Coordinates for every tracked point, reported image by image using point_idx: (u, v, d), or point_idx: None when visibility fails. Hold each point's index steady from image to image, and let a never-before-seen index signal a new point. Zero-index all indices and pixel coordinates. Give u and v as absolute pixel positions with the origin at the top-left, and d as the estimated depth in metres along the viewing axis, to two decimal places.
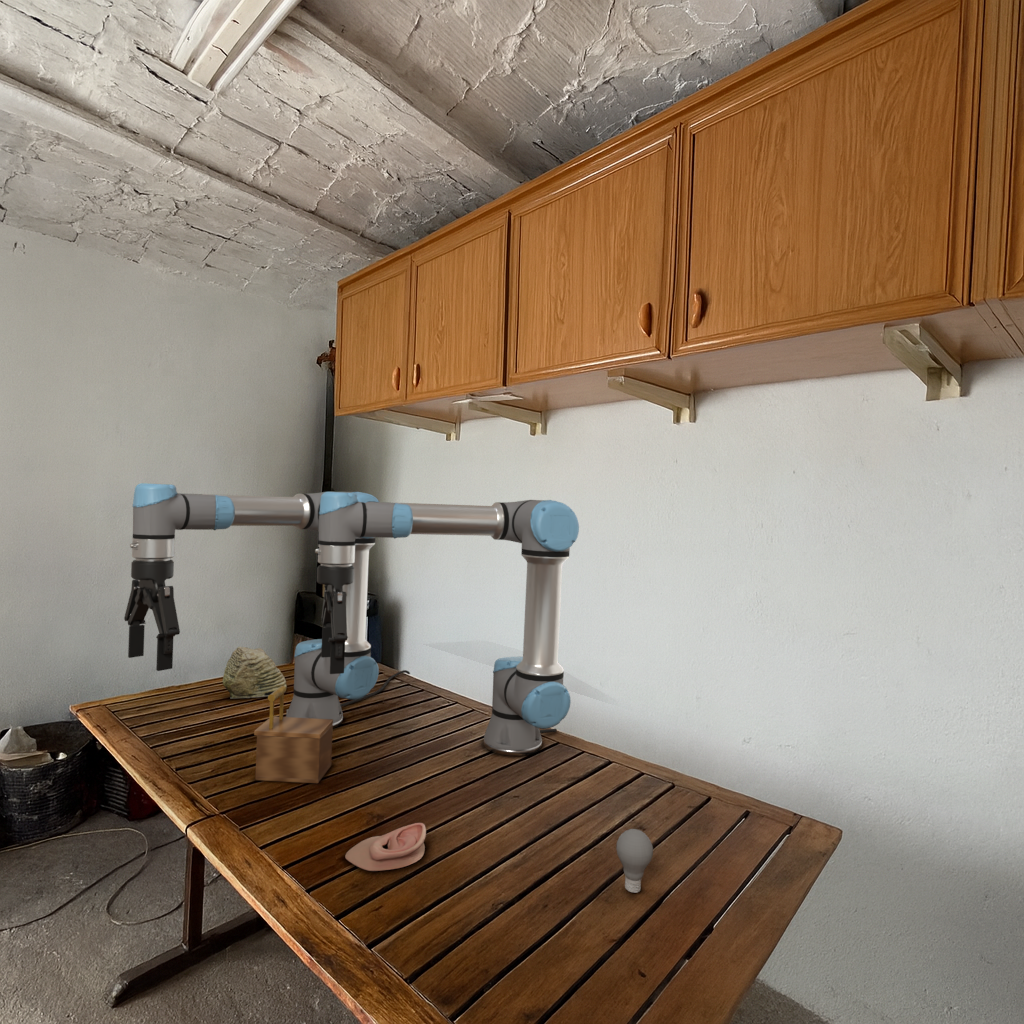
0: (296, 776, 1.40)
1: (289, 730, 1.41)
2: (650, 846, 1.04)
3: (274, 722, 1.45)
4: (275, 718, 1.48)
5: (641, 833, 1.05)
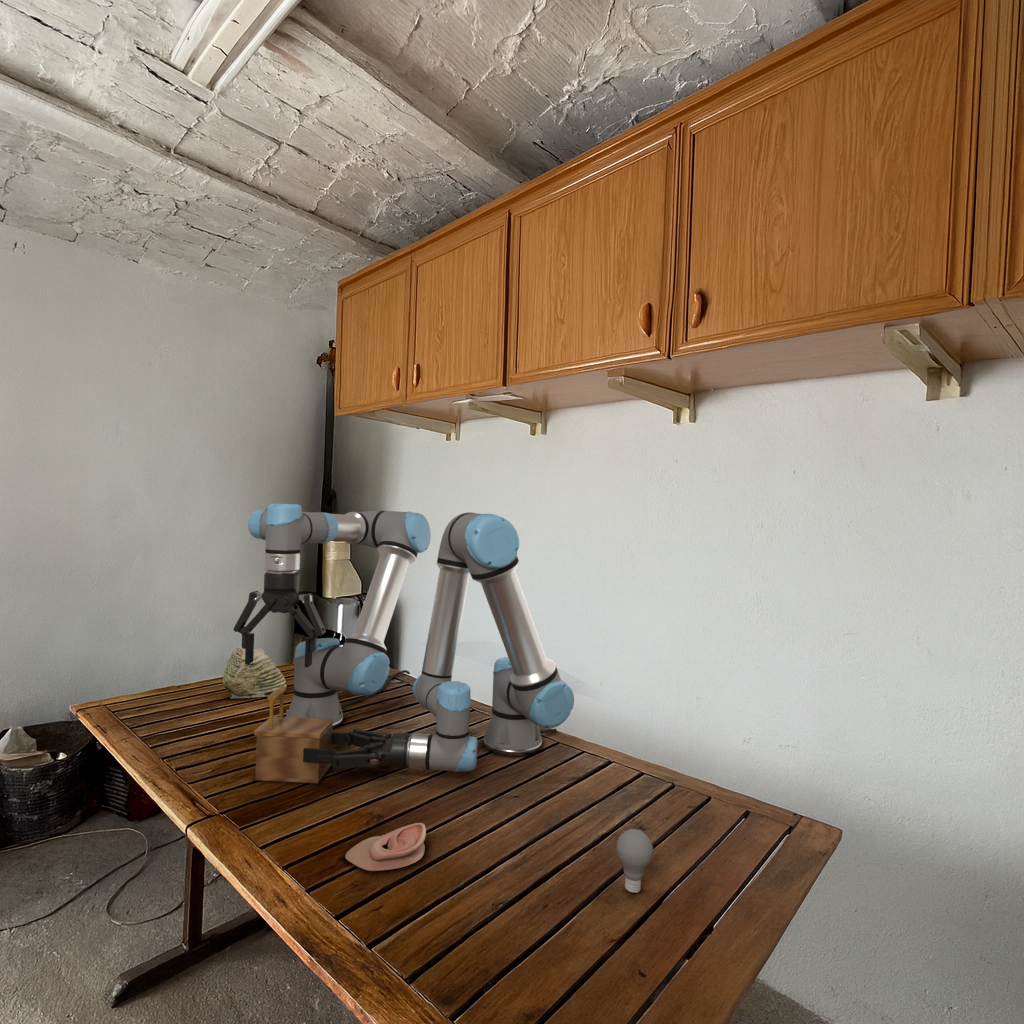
0: (296, 776, 1.40)
1: (288, 730, 1.41)
2: (650, 846, 1.04)
3: (274, 722, 1.45)
4: (275, 718, 1.48)
5: (641, 833, 1.05)
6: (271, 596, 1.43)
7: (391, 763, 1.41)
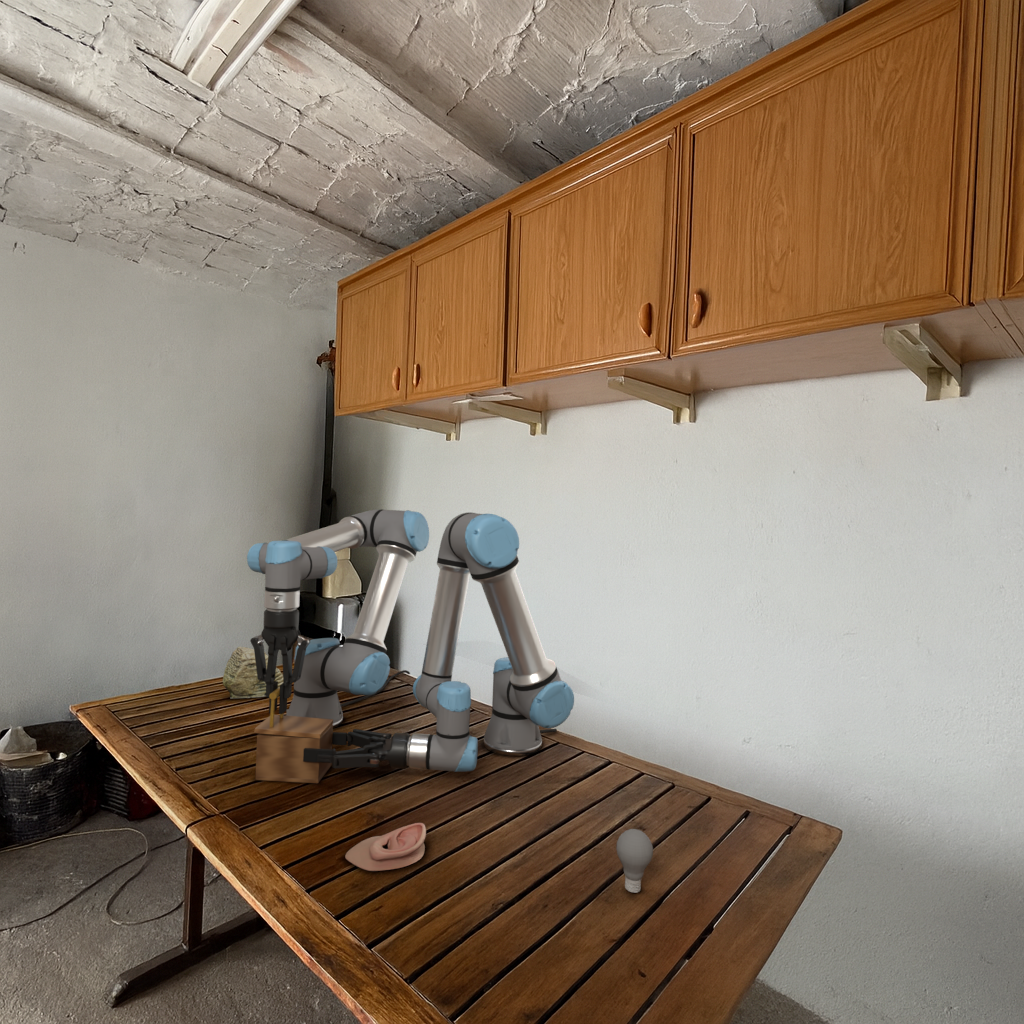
0: (296, 776, 1.40)
1: (289, 729, 1.41)
2: (650, 846, 1.04)
3: (274, 720, 1.45)
4: (276, 716, 1.48)
5: (641, 833, 1.05)
6: (271, 634, 1.43)
7: (391, 763, 1.41)
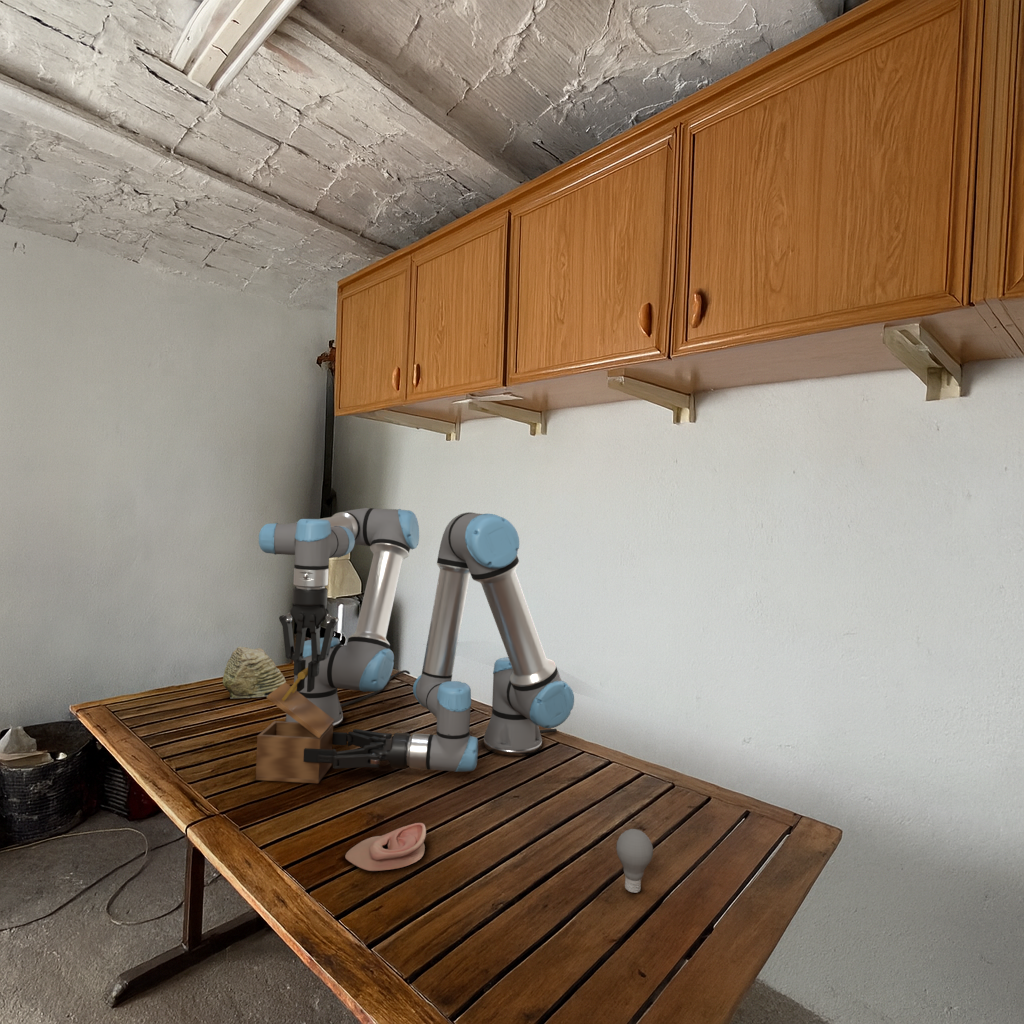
0: (296, 776, 1.40)
1: (297, 712, 1.41)
2: (650, 846, 1.04)
3: (286, 692, 1.45)
4: (288, 687, 1.48)
5: (641, 833, 1.05)
6: (299, 611, 1.43)
7: (391, 763, 1.41)
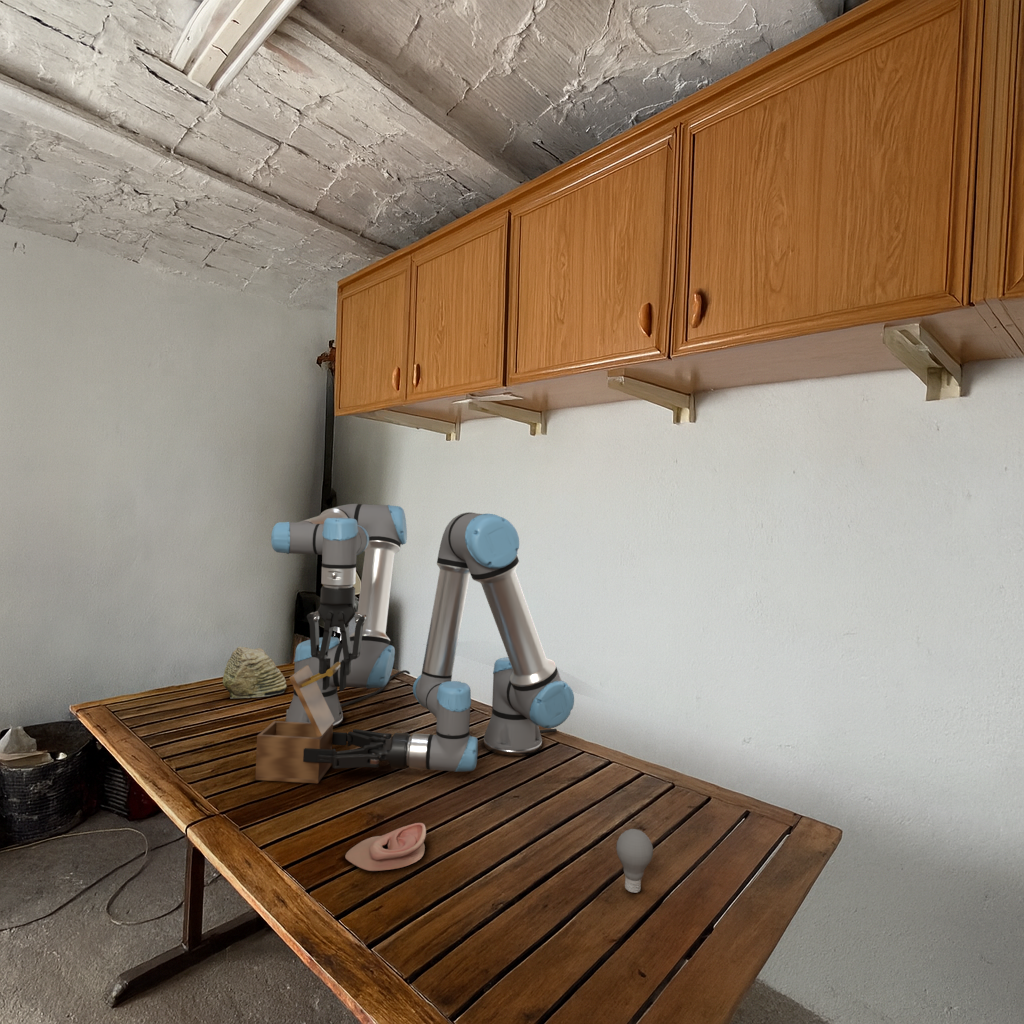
0: (296, 776, 1.40)
1: (309, 703, 1.41)
2: (650, 846, 1.04)
3: (306, 678, 1.45)
4: (309, 671, 1.48)
5: (641, 833, 1.05)
6: (328, 610, 1.43)
7: (391, 763, 1.41)
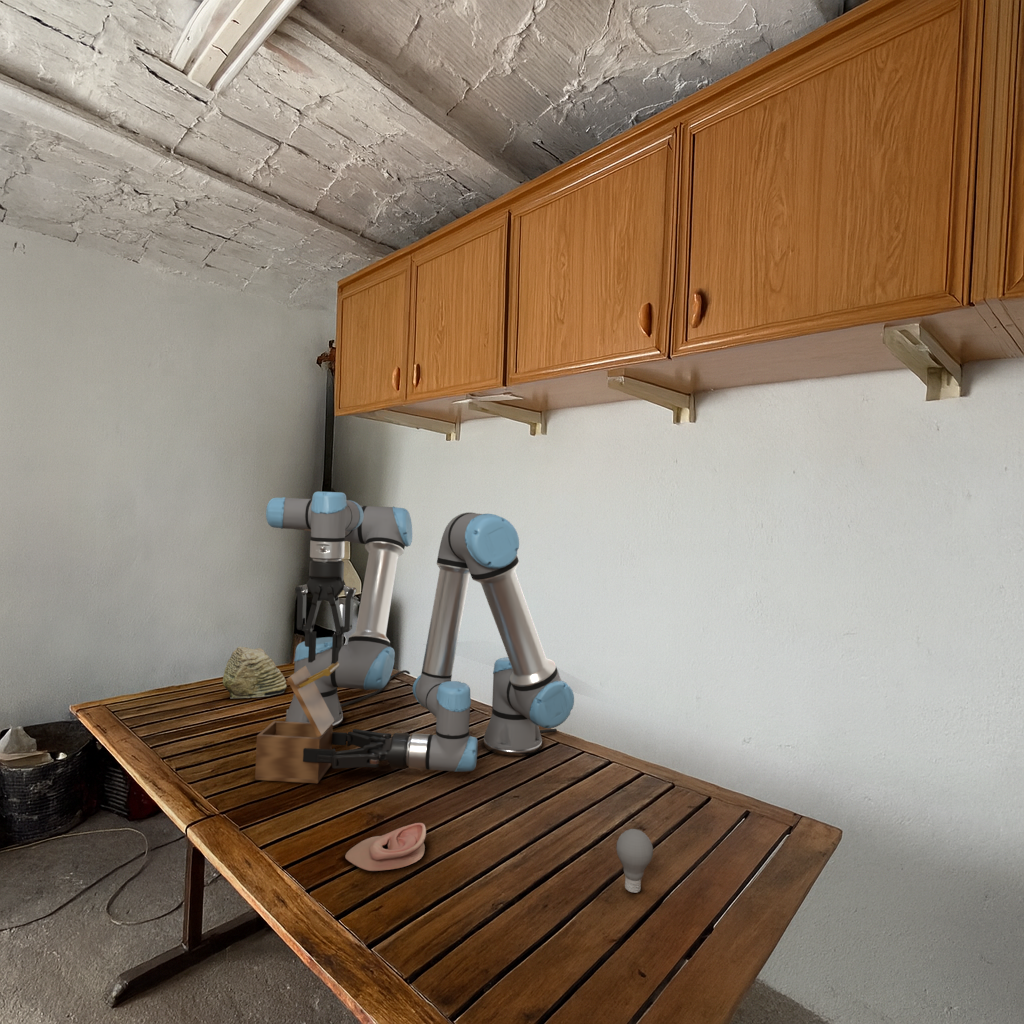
0: (296, 776, 1.40)
1: (308, 703, 1.41)
2: (650, 846, 1.04)
3: (304, 678, 1.45)
4: (307, 672, 1.48)
5: (641, 833, 1.05)
6: (316, 584, 1.43)
7: (391, 763, 1.41)
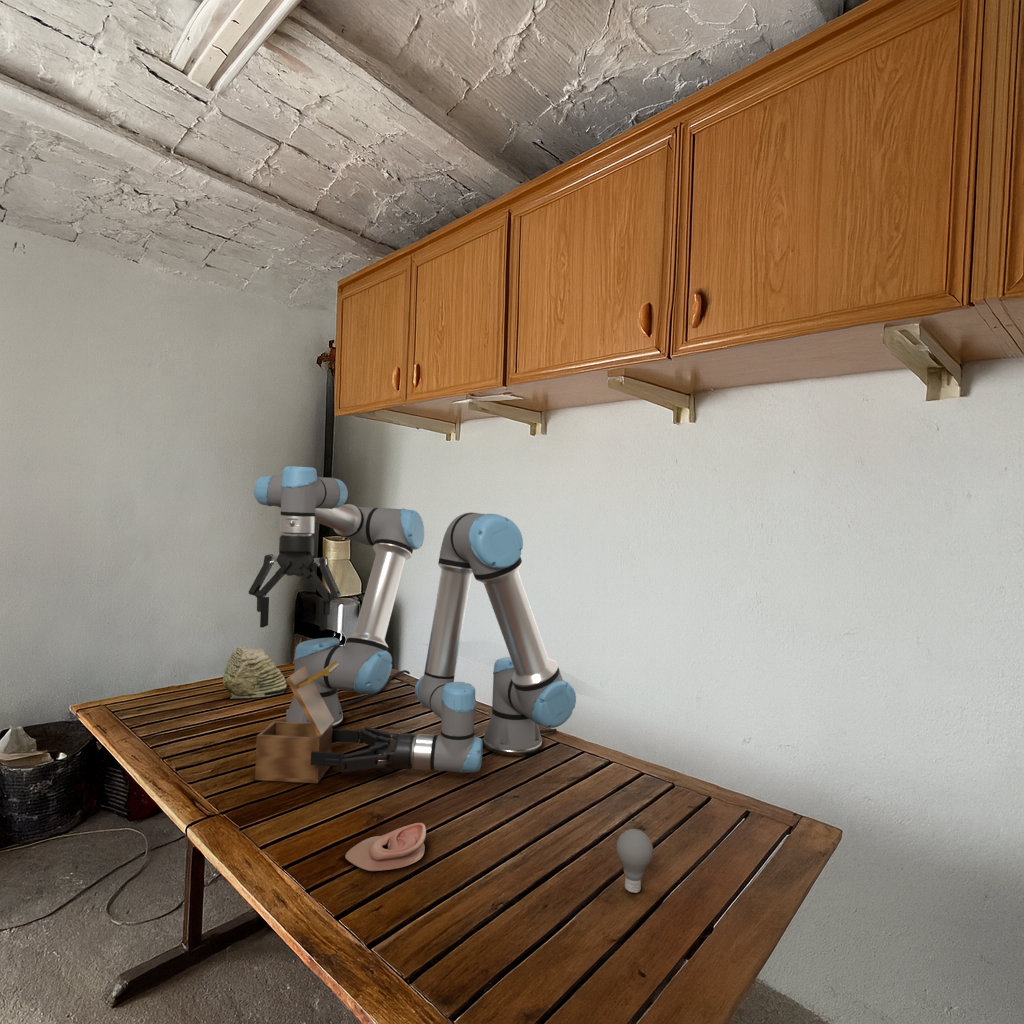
0: (296, 776, 1.40)
1: (307, 703, 1.41)
2: (650, 846, 1.04)
3: (303, 679, 1.45)
4: (306, 672, 1.48)
5: (641, 833, 1.05)
6: (286, 559, 1.43)
7: (396, 763, 1.41)
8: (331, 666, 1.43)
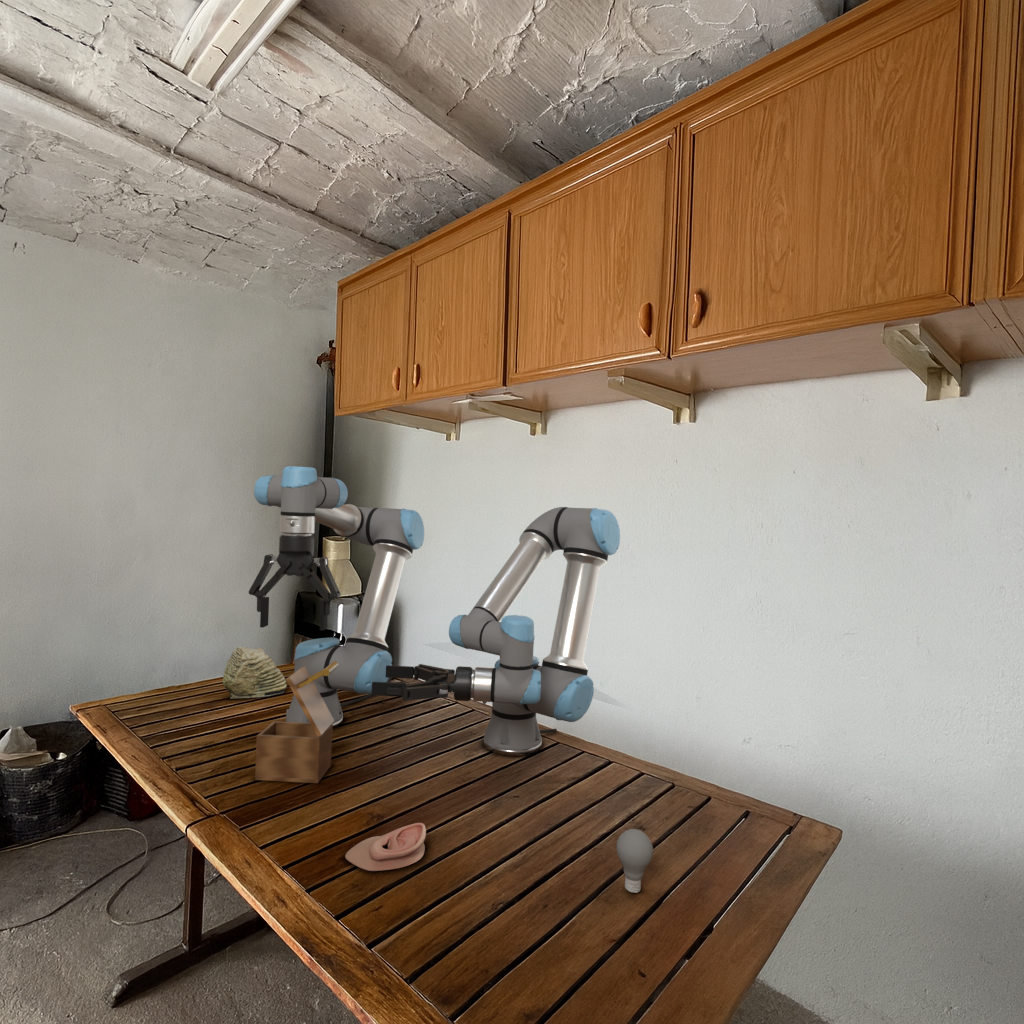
0: (296, 776, 1.40)
1: (307, 703, 1.41)
2: (650, 846, 1.04)
3: (303, 679, 1.45)
4: (306, 672, 1.48)
5: (641, 833, 1.05)
6: (286, 559, 1.43)
7: (456, 695, 1.40)
8: (331, 666, 1.43)
